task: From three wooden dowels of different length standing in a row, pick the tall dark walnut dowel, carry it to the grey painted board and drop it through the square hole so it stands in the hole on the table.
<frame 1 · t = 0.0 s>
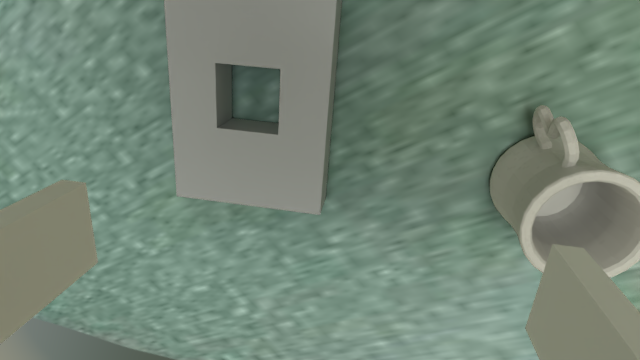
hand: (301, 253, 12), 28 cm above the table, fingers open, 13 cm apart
mug 2: (536, 162, 38), on the table
hole board: (260, 92, 39), on the table
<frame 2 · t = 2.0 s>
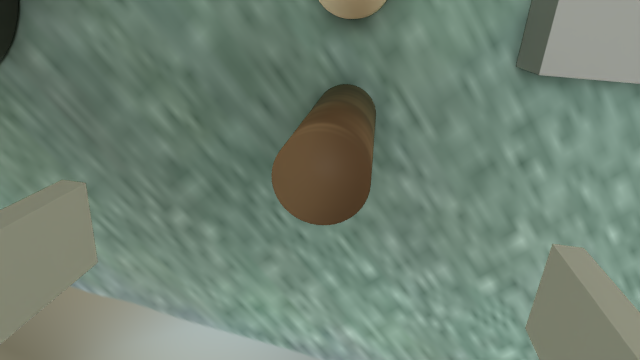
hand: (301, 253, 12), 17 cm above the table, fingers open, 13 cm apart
long pin: (345, 114, 27), on the table
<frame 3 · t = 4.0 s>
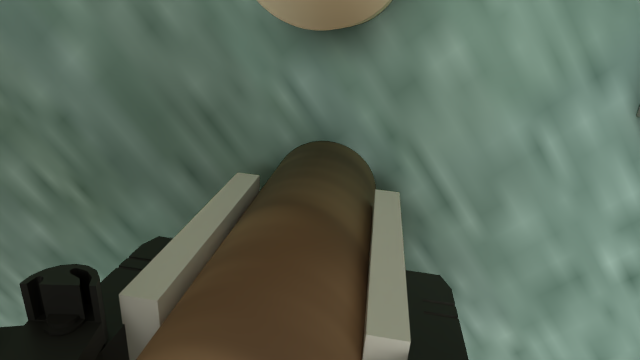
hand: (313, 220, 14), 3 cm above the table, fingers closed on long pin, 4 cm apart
long pin: (324, 190, 16), on the table, touching gripper
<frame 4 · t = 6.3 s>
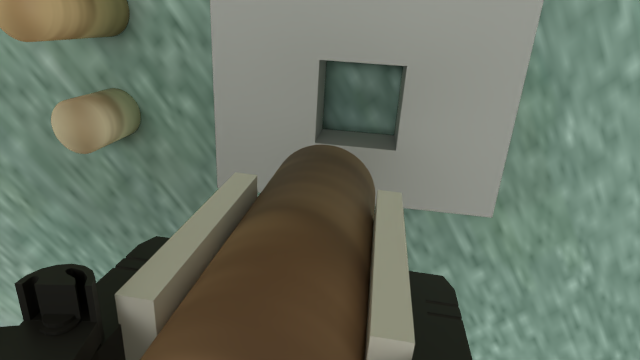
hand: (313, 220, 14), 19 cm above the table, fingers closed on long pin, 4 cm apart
short pin: (117, 112, 34), on the table
long pin: (323, 193, 16), point 17 cm above the table, touching gripper
hole board: (361, 96, 31), on the table
medium pin: (104, 8, 31), on the table
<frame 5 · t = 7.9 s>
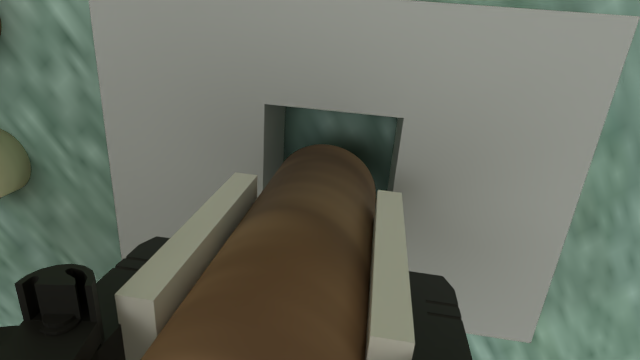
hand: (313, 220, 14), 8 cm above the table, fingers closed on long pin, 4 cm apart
long pin: (324, 193, 16), point 6 cm above the table, touching gripper
hole board: (337, 148, 21), on the table
when the fingers open (5 cm above the table, at t = 8.8 s): long pin drops 2 cm, resting in hole board.
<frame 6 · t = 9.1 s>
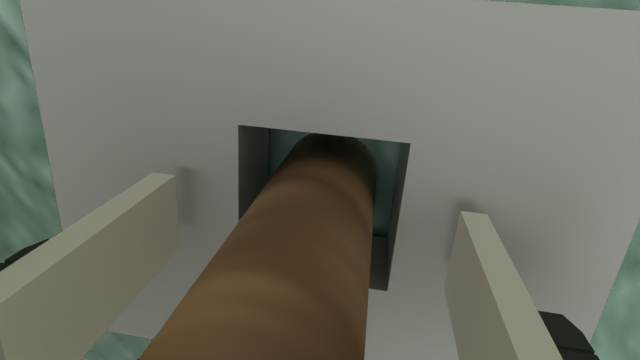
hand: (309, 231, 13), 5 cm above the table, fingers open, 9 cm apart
long pin: (330, 174, 18), resting in hole board
hole board: (330, 172, 18), on the table
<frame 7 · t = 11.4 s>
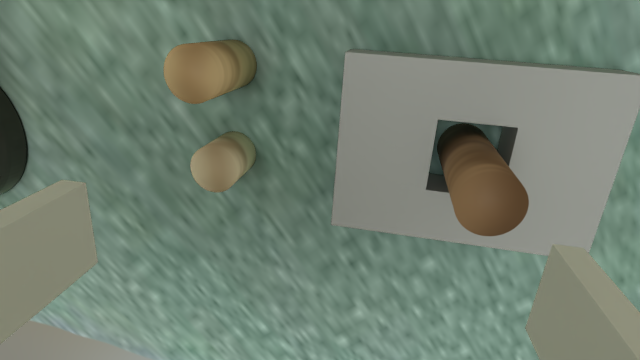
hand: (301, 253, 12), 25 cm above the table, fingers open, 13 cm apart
short pin: (235, 152, 38), on the table
long pin: (461, 146, 34), resting in hole board
hole board: (462, 145, 34), on the table
medium pin: (234, 64, 36), on the table
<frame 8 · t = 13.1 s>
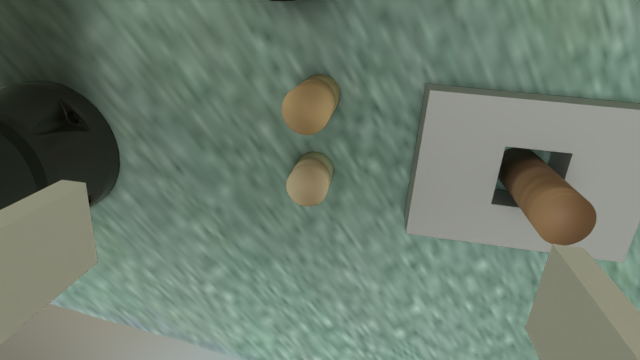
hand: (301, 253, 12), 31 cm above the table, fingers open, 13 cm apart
short pin: (314, 169, 44), on the table
long pin: (516, 166, 41), resting in hole board
hole board: (517, 165, 40), on the table
medium pin: (320, 94, 41), on the table
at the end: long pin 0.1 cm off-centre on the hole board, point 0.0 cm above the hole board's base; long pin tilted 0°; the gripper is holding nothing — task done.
